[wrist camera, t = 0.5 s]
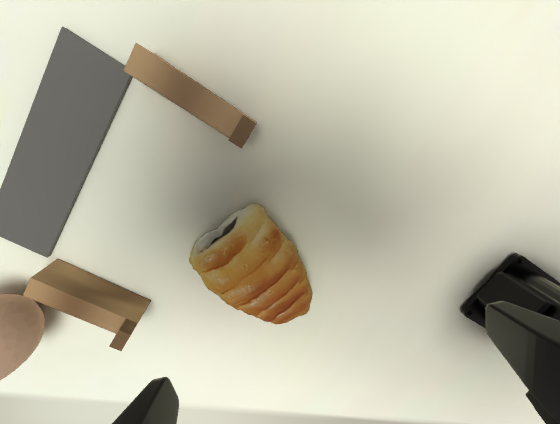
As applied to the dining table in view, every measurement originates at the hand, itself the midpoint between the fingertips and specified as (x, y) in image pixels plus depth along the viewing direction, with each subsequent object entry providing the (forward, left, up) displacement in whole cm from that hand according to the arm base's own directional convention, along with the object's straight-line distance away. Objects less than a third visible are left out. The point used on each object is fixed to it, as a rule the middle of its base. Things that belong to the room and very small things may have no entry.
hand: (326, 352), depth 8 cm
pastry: (0, +4, -13) cm, 14 cm away
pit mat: (+14, +5, -13) cm, 20 cm away
